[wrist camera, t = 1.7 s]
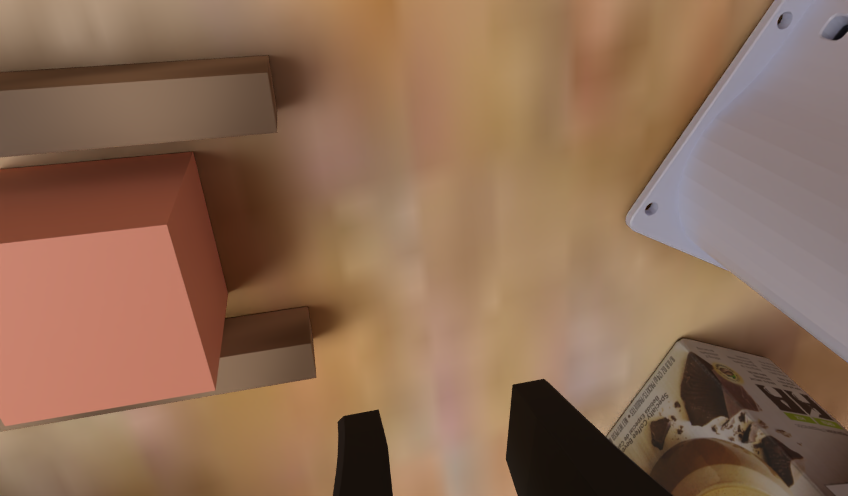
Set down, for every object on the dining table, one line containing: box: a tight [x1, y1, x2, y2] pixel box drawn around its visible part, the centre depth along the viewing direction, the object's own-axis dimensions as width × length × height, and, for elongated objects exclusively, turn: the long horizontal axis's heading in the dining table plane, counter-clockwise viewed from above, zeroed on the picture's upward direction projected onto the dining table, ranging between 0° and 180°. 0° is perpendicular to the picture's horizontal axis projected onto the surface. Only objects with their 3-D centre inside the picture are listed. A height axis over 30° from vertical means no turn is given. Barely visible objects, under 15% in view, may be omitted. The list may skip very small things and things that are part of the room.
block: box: [0, 152, 228, 426], centre depth 15 cm, size 5×5×4 cm
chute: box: [0, 55, 316, 432], centre depth 16 cm, size 12×10×2 cm
